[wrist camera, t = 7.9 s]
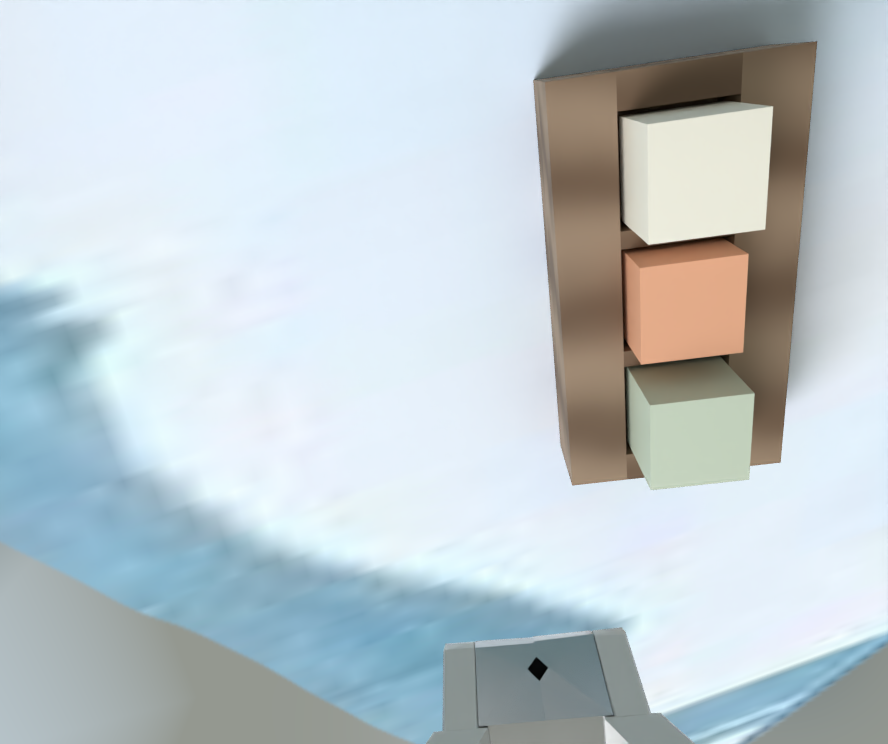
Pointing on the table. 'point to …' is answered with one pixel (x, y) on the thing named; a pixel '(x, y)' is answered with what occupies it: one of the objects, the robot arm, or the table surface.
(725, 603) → the table surface
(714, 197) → the cream key
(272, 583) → the table surface
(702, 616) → the table surface
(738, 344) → the terracotta key
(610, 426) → the board
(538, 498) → the table surface
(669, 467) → the sage key
